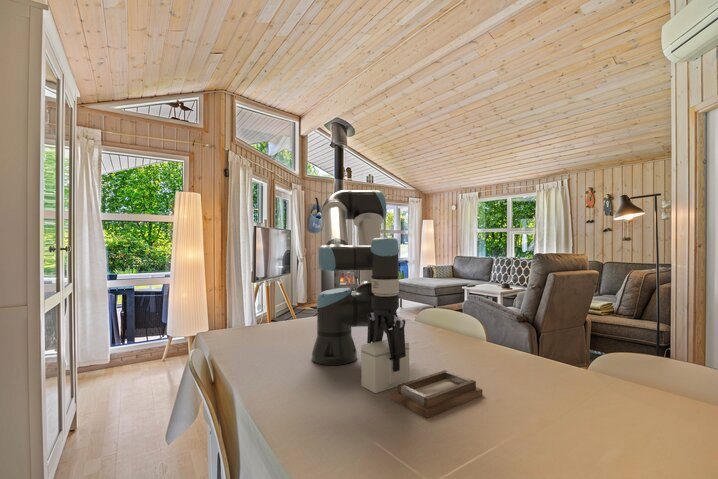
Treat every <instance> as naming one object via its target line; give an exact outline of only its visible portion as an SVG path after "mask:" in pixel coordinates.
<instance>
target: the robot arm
mask: <svg viewBox="0 0 718 479" xmlns="http://www.w3.org/2000/svg"><path fill="white" fill-rule="evenodd" d="M387 210H388V209H387V201H386V197H385V195H384V193H383V192H382V191H381V190H373V189H370V190H365V189H364V190H361V189H360V190H359V189H358V190H357V189H356V190H355V189H353V190H352V189H342V190H339V191H336V192H334V193H332V194H331V195H330V196H328V198H326V199H325V200H324V203H323V205H322V208H321V216H322V219H323V220H324V245H320V246H319V247H318V268H319V270H321V271H331V272H334V271H335V272H337V271H339V272H340V271H359V274H360V276H359V277H360V278H359V279H360V284H358V286H356V291H355V292H353V291H352V289H351V287H339V288H331V289H327V290H324V291H321V292H320V293H319V294H318V295H317V297H316V298H317V300H316V303H317V304H316V308H317V309H316V311H317V312H316V317H317V318H316V323H317V324H316V327H317V328H316V330H317V332H316V339H315V341H314V344H313V349H312V352H311V359H312V362H314V363H316V364H318V365H324V366H341V365H347V364H352V363H353V362H355V361H356V360H357V356H358V354H357V353H358V352H357V348H356V345H355V342H354V339H353V335H352V328H354V327H355V328H361V327H365V328H366V327H367V340H366V341H367V342H366V344H368V343H373V342H378V341H382V340H383V339H384V333H385V334H386V340H387V339H388V344H389V349H390V354H391V358H389V384H393V383H397V382H399V370H400V358H403V357H405V356H406V352H405V341H406V338H405V337H406V335H405V326H406V320H405V319H404V318H403V319H401V318H399V317H398V313H397V310H398V309H399V308H400V295H399V293H400V284H399V283H400V277H399V270H400V269H399V265H400V264H399V256H400V255H399V254H400V249H399V240H398V239H397V238H394V237H381V225H383V222H384V220H385V219H386V218H387V212H388V211H387ZM346 220H352V221H353V225H354V226H355V227H357V235H358V236H357V238H358V245H357V244H356V245H355V244H353V245H352V244H349V239H348V231H347V230H348V229H347V228H348V227H347V222H346ZM395 353H396V354H395Z"/></svg>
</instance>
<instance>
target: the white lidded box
mask: <svg viewBox="0 0 718 479" xmlns="http://www.w3.org/2000/svg"><path fill="white" fill-rule="evenodd" d="M360 346H361V348H360V351H361V354H360V355H361V356H360V357H361V360H360V362H361V366H360V367H361V371H360V372H361V387H363V388H365V389H366V390H368V391H370V392H372V393H374V394H378V393H380V392H384V391H387V390H390V389H393V388H396V387H397V388H398V385H399V384H403V383H406V382H409V381H410V342H409V341H406V340H405V352H406V356H405V357H403V358H400V370H399V382H397V383H393V384H389V358H391V354H390V349H389V344H388V339H387V338H386V339H384V340H383V339H382V341H378V342H373V343H372V342H371V343H368V344H367V343H364V344H361V345H360ZM395 354H396V353H395Z"/></svg>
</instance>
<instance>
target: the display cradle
mask: <svg viewBox="0 0 718 479" xmlns="http://www.w3.org/2000/svg"><path fill="white" fill-rule="evenodd" d="M390 394H391V397H390V399H391V401H394V402H396V403H397V404H400V406H403V407H405V408H406V409H410V411H413V412H414V413H417V414H419V415H420V416H422V417H424V418H426V419H428V418H432V417H433V416H436V415H438V414H441V413H444V412H446V411H449V410H450V409H452V408H455V407H458V406H461V405H462V404H463V405H464V404H465V403H468V402H470V401H472V400H474V399H477V398H480V397H482V396H483V394H484V393H483V388H481V387H478V386H477V381H476V380H475V379H470V378H468V377H465V376H462V375H459V374H456V373H453V372H451V371H449V370H446V369H444V370H441V371H438V372H434V373H431V374H428V375H425V376H422V377H419V378H416V379H413V380H409V382H406V383H403V384H399V385H398V386H397V391H394V392H391V393H390Z"/></svg>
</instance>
